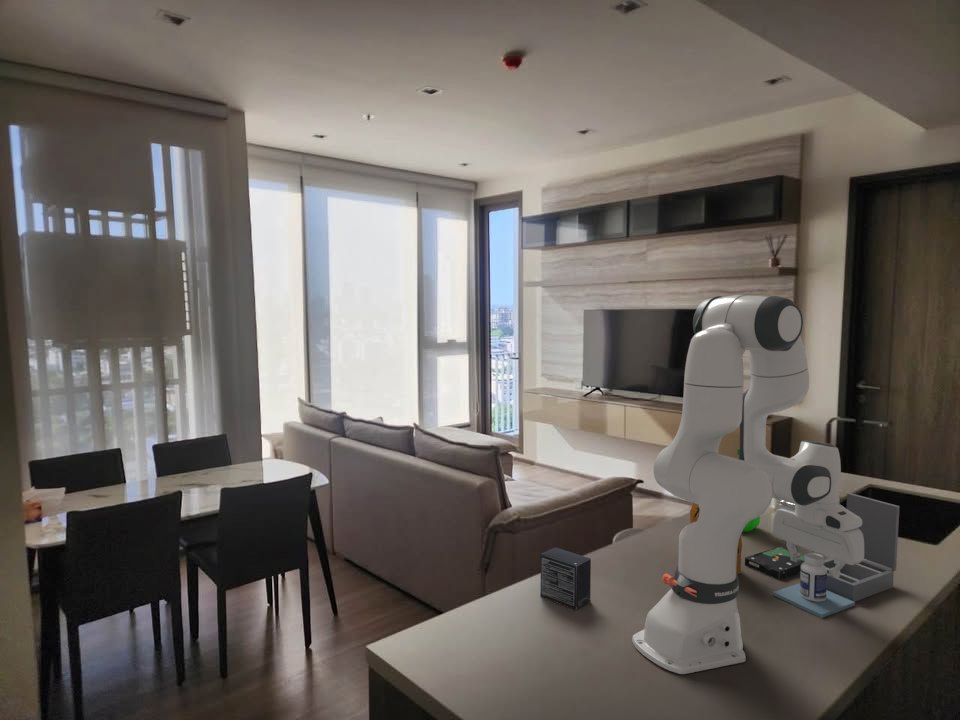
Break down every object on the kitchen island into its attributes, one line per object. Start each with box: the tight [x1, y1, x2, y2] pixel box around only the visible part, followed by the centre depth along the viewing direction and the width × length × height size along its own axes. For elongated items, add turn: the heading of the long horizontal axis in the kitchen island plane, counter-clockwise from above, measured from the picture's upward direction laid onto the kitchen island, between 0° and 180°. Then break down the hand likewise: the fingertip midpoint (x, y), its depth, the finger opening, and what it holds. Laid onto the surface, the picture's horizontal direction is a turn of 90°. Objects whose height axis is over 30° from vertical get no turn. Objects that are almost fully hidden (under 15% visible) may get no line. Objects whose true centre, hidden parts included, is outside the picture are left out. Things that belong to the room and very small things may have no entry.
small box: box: [539, 547, 592, 611], centre depth 142 cm, size 11×6×10 cm, turn 47°
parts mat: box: [772, 582, 856, 619], centre depth 141 cm, size 12×12×1 cm
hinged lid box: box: [823, 492, 900, 603], centre depth 148 cm, size 17×13×20 cm
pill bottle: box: [799, 552, 827, 602], centre depth 140 cm, size 5×5×10 cm
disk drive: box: [744, 546, 805, 581], centre depth 159 cm, size 10×3×15 cm
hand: (814, 568), depth 140 cm, fingers open, 8 cm apart
